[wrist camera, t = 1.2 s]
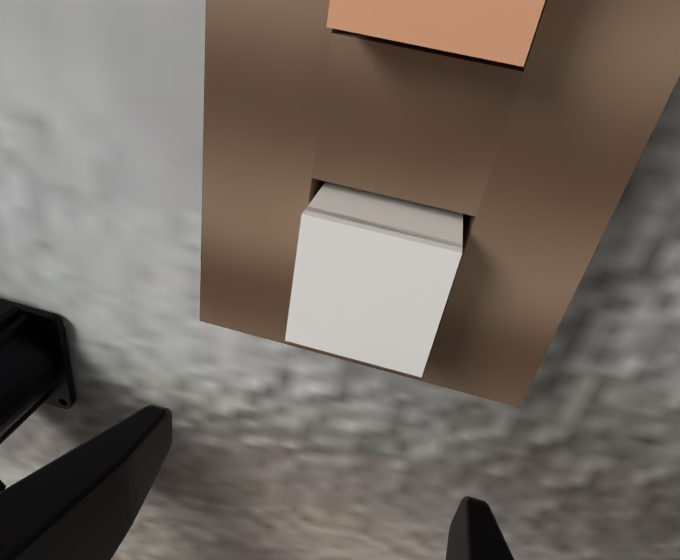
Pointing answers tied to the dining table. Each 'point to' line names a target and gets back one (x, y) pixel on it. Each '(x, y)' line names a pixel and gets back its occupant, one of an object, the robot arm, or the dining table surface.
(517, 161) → the panel
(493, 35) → the button
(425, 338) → the button
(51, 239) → the dining table surface
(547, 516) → the dining table surface
